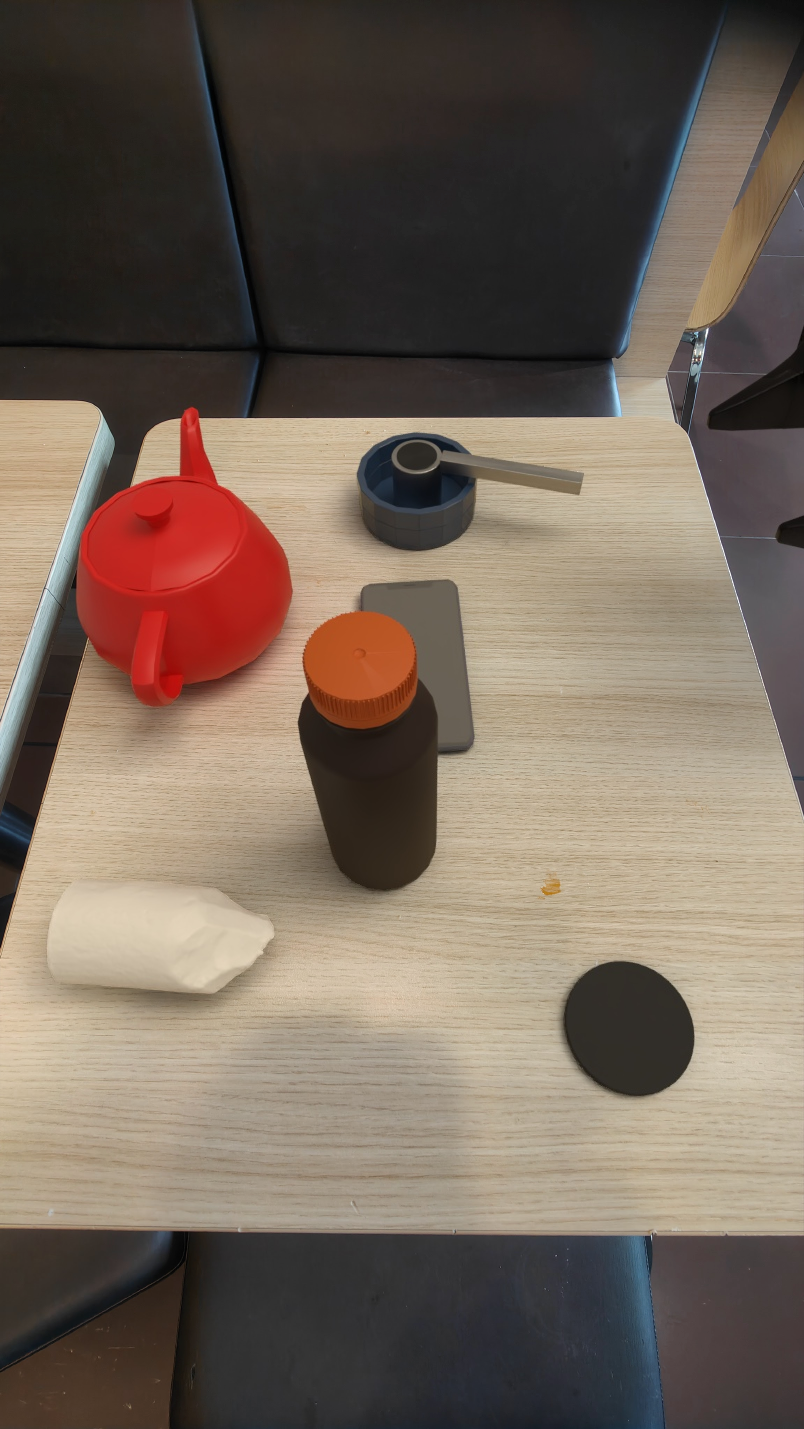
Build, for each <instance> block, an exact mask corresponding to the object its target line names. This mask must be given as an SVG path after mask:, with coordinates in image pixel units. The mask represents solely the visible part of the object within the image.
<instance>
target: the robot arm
mask: <svg viewBox="0 0 804 1429" xmlns="http://www.w3.org/2000/svg"><path fill="white" fill-rule="evenodd" d="M706 427H707V428H708V430H711V431H725V432H727V431H728V432H740V431H741V432H742V431H763V430H764V431H766V430H767V431H768V430H794V429H804V325H803V327H802V330H801V332H800V336H799V340H798V342H797V346H796V348H795V350H794V352H793V353H792V354H790V356H788V357H787V358H785V360H783V361H782V362H781V363H780V364H778V365H777V366H776V367H775V368H773V369H772V370H770V371H769V372H767V373H766V374H764V375H763V376H762V377H760V378H758V379H757V380H755V381H753V382H752V383H750V384H749V385H747V386H746V387H744V388H743V389H742V390H739V391H738V392H736V393H735V394H733V395H732V396H730V397H729V398H727V399H726V400H725V401H723V402H721V403H719V404H718V405H717V406H715V407H713V408H712V409H711V410H710V411H709V412H708V415H707V420H706ZM774 538H775V540H776V542H777V543H778V544H781V545H785V546H789V547H794V548H799V549H804V514H803V515H800V516H798V517H795V518H792V519H789V520H786V521H784V522H781V523H780V524H779V525H778V526H777V529H776V532H775V535H774Z"/></svg>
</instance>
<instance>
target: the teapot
mask: <svg viewBox="0 0 804 1429" xmlns="http://www.w3.org/2000/svg"><path fill="white" fill-rule="evenodd" d="M202 434H203V433H202V428H201V423H200V417H199V410H198V409H196V408H194V407H193V406H190V407H189V408H187V409H185V411H184V413H183V414H182V417H181V418H180V423H179V438H180V439H179V442H180V443H179V448H180V449H179V475H172V476H171V475H167V476H159V477H155V478H151V479H147V480H143V481H141V482H139V483H136V484H134V485H132V486H130V487H128V488H125V489H123V490H120V491H118V492H116V493H115V494H113V496H111V497H110V498H109V499H108V500H107V501H105V502H104V503H103V504H102V505H100V506H99V507H98V508H97V509H96V510H95V511H94V512H93V513H92V515H91V516H90V518H89V520H88V522H87V524H86V526H85V528H84V529H83V531H82V533H81V535H80V541H79V547H78V560H77V567H76V591H75V592H76V593H75V602H76V603H75V604H76V613H77V617H78V620H79V623H80V625H81V628H82V630H83V631H84V633H85V635H86V636H87V638H88V640H89V642H90V644H91V645H92V647H93V649H94V650H95V652H96V654H97V655H98V657H100V658H101V659H103V660H104V661H105V662H106V663H108V664H110V665H111V666H113V667H115V668H116V669H118V670H120V671H121V672H123V673H124V674H126V675H127V676H129V677H130V683H131V687H132V691H133V693H134V696H135V698H136V699H137V700H138V701H139V702H140V703H141V704H142V705H144V706H147V707H152V708H161V707H166V706H169V705H171V704H172V703H174V701H176V700H177V699H178V698H179V696H180V695H181V691H182V688H183V686H184V685H190V684H197V683H202V682H207V681H212V680H217V679H221V678H223V677H225V676H227V675H229V674H231V673H232V672H234V671H236V670H238V669H240V668H242V667H244V666H246V665H248V664H249V663H250V664H251V663H252V662H253V661H255V660H256V659H257V658H258V657H259V656H260V655H261V654H262V653H263V652H264V651H265V650H266V649H267V648H268V647H269V646H270V645H271V644H272V643H273V642H274V640H275V639H276V638H277V637H278V636H279V635H280V634H281V632H282V629H283V626H284V623H285V621H286V618H287V615H288V612H289V609H290V606H291V603H292V599H293V594H294V589H293V583H292V576H291V571H290V570H291V569H290V564H289V560H288V558H287V555H286V552H285V549H284V548H283V547H282V545H281V544H280V542H279V541H278V539H277V538H276V537H275V535H274V534H273V533H272V532H271V531H270V529H269V528H268V527H267V525H265V523H264V522H263V520H261V518H260V517H259V516H258V515H257V514H256V513H255V512H254V511H253V510H252V509H251V508H250V507H249V506H248V505H247V504H246V503H245V502H244V501H243V500H242V499H241V498H239V496H238V495H236V494H235V493H234V492H233V491H231V490H230V489H228V488H226V487H224V486H222V485H220V484H219V483H218V480H217V477H216V474H215V472H214V469H213V467H212V465H211V461H210V460H209V457H208V454H207V452H206V450H205V446H204V441H203V435H202Z"/></svg>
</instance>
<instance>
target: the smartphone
mask: <svg viewBox="0 0 804 1429" xmlns="http://www.w3.org/2000/svg"><path fill="white" fill-rule="evenodd" d="M359 598H360V599H359V600H360V611H363V612H364V611H365V612H369V611H370V612H376V613H379V614H384V615H385V616H387V615H388V617H390V618H391V617H392V619H393V620H395V619H396V622H399V623H400V625H403V627H404V628H405V627H406V631H409V634H411V637H413V641H414V643H415V645H416V652H417V674H418V679H420V680H421V681H422V682H423V684H424V685H425V686H426V688H427V689H428V691H429V692H430V694H431V695H432V696H433V699H434V703H435V707H436V711H437V714H438V753H439V752H455V751H456V752H457V751H468V750H469V749H471V747H473V745H474V742H475V738H476V737H475V730H474V729H475V727H474V718H473V710H472V701H471V700H472V699H471V691H470V684H469V683H470V682H469V675H468V666H467V658H466V648H465V637H464V630H463V623H462V613H461V612H462V611H461V605H460V604H461V603H460V595H459V587H458V585H457V584H456V583H455V581H453V580H451V579H449V578H446V579H430V580H429V579H426V580H410V581H409V580H408V581H394V582H378V583H377V582H374V583H368V584H366V585H364V586H363V587H362V588H361V591H360V595H359Z"/></svg>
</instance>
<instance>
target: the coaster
mask: <svg viewBox="0 0 804 1429" xmlns="http://www.w3.org/2000/svg"><path fill="white" fill-rule="evenodd" d="M563 1017H564V1022H563V1023H564V1032H565V1037H566V1040H567V1043H568V1046H569V1049H570V1051H571V1053H572V1055H573V1057H574V1059H575V1060H576V1062H577V1063H578V1065H579V1066H580V1068H581V1069H582V1070H584V1072H585V1073H586V1075H588V1076H589V1077H590V1078H591V1079H592V1080H594V1081H595V1082H596V1083H598V1084H599V1086H602V1087H604V1088H606V1089H607V1090H609V1091H611V1092H614V1093H616V1094H620V1095H623V1096H630V1097H644V1096H651V1095H654V1094H657V1093H660V1092H662V1091H664V1090H666V1089H667V1088H669V1087H671V1086H672V1085H674V1084H675V1083H676V1082H678V1080H679V1079H680V1078H681V1077H682V1076H683V1075H684V1073H685V1072H686V1071H687V1069H688V1067H689V1065H690V1063H691V1060H692V1058H693V1057H692V1056H693V1055H694V1054H693V1053H694V1048H695V1026H694V1022H693V1021H694V1020H693V1016H692V1015H691V1012H690V1009H689V1007H688V1005H687V1003H686V1001H685V999H684V998H683V996H682V994H681V993H680V992H679V990H678V989H677V988H676V986H675V985H673V983H671V982H670V980H669V979H667V978H666V977H665V976H663V975H662V974H661V973H659V972H658V971H656V970H654V969H653V968H651V967H649V966H646V965H643V964H640V963H638V962H633V961H626V960H617V961H616V960H615V961H608V962H604V963H601V964H599V965H597V966H594V967H592V968H591V969H589V970H588V971H586V972H585V973H584V974H583V975H582V976H581V977H580V978H579V979H578V980H577V982H575V984H574V986H573V987H572V989H571V991H570V992H569V996H568V998H567V999H566V1004H565V1008H564V1016H563Z"/></svg>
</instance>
